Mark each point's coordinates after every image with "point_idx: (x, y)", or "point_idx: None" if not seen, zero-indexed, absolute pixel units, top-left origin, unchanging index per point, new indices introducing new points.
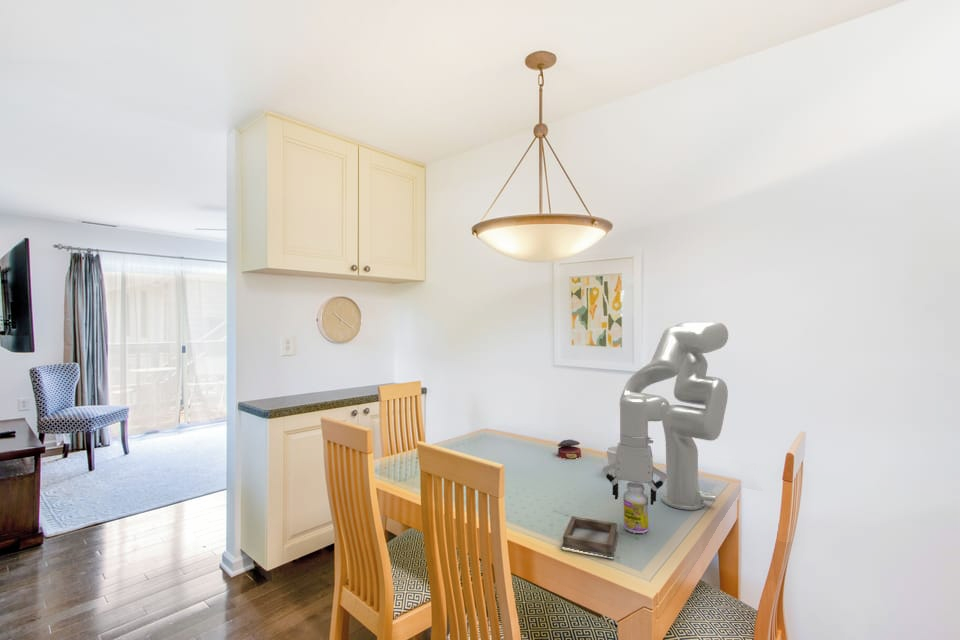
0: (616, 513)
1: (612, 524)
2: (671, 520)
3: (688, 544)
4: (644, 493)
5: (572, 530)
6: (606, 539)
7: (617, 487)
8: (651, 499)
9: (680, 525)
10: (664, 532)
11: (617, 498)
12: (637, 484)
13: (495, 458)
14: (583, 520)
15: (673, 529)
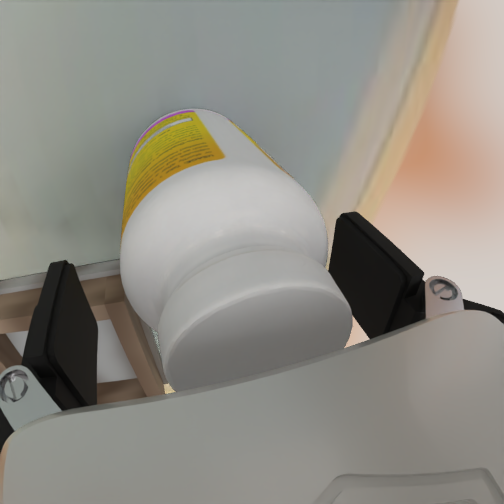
0: (60, 35)
1: (114, 318)
2: (351, 12)
3: (379, 200)
4: (316, 246)
5: (14, 361)
6: (114, 332)
7: (93, 398)
8: (349, 305)
9: (381, 54)
10: (315, 141)
11: (95, 324)
12: (288, 341)
13: None
14: (5, 331)
15: (353, 99)
